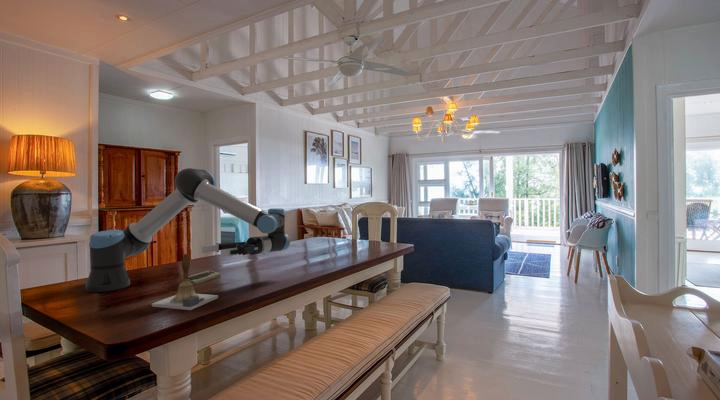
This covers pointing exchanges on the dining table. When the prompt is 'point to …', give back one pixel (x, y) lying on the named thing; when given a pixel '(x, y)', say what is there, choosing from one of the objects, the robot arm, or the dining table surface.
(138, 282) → the dining table surface
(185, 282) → the hand bell
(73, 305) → the dining table surface
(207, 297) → the charging dock
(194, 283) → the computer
